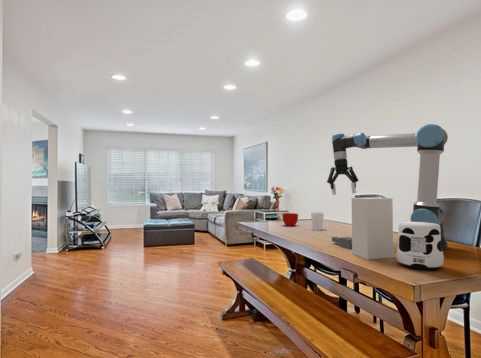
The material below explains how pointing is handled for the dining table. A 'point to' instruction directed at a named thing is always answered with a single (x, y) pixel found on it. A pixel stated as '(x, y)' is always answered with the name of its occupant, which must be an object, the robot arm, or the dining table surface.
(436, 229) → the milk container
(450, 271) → the dining table surface
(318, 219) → the foam cup
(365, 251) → the pillar
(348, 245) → the plug
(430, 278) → the dining table surface
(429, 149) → the robot arm
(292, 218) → the ceramic cup
